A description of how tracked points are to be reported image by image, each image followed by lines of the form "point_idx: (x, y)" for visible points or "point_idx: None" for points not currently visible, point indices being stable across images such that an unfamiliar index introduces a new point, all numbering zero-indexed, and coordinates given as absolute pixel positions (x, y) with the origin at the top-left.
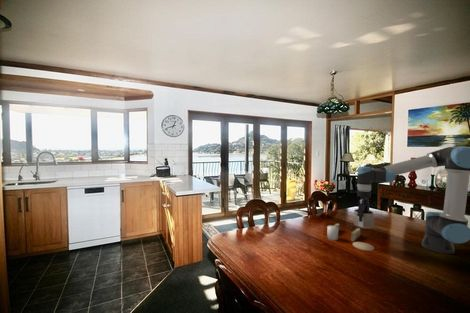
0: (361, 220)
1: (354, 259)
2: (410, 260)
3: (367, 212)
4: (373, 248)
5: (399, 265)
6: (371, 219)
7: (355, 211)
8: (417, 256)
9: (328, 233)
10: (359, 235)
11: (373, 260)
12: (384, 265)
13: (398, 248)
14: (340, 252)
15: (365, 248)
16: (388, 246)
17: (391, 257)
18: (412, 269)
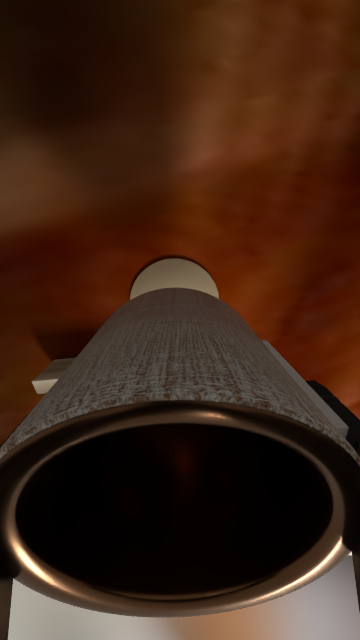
0: (332, 394)
1: (340, 278)
2: (155, 57)
3: (44, 479)
4: (166, 262)
5: (272, 94)
6: (221, 325)
7: (296, 585)
8: (51, 32)
9: None
10: (63, 360)
11: (298, 217)
12: (322, 159)
13: (36, 169)
14: (307, 338)
15: (197, 287)
16: (61, 220)
17: (198, 161)
18: (277, 12)
